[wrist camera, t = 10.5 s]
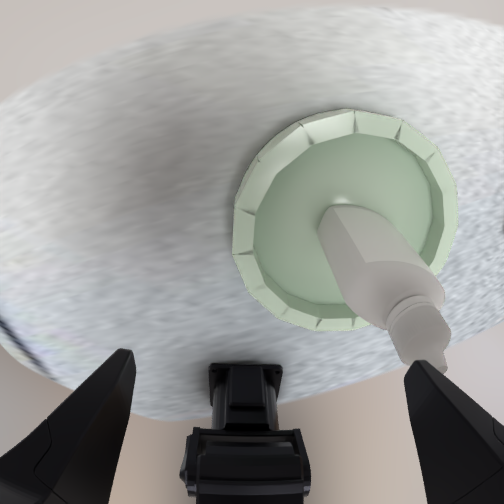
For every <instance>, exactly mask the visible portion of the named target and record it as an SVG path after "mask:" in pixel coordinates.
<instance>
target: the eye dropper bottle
mask: <svg viewBox="0 0 504 504" xmlns="http://www.w3.org/2000/svg"><path fill="white" fill-rule="evenodd" d="M317 236H318V239H319V241H320V244H321V246H322V248H323V251H324V253H325V256H326V258H327V260H328V263H329V265H330V268H331V270H332V272H333V275H334V277H335V280H336V282H337V285H338V287H339V289H340V291H341V294H342V296H343V298H344V301H345V302H346V304H347V306H348V307H349V308H350V309H351V310H352V311H353V312H355V313H356V314H357V315H358V316H359V317H361V318H362V319H364V320H365V321H367V322H368V323H370V324H372V325H374V326H376V327H379V328H381V329H384V330H387V331H388V333H389V335H390V337H391V339H392V341H393V344H394V346H395V348H396V350H397V352H398V355H399V357H400V359H401V361H402V362H403V363H404V364H406V365H409V366H411V365H412V363H413V362H414V361H415V360H426V361H428V362H429V363H430V364H431V365H432V366H434V367H435V368H436V369H437V370H438V371H440V372H441V373H442V374H444V373H445V372H446V371H447V364H446V361H445V357H444V353H443V351H444V350H445V349H446V347H447V346H448V344H449V341H450V338H451V330H450V328H449V326H448V325H447V323H446V322H445V320H444V319H443V317H442V315H441V314H440V312H439V311H440V309H441V308H442V306H443V304H444V301H445V290H444V288H443V287H442V285H441V283H440V282H439V280H438V279H437V278H436V276H435V275H434V273H433V272H432V271H431V270H430V268H429V267H428V266H427V264H426V263H425V262H424V261H423V259H422V258H421V257H420V256H419V255H418V253H417V252H416V251H415V250H414V248H413V247H412V246H411V245H410V244H409V243H408V241H407V240H406V239H405V238H404V237H403V235H402V234H401V233H400V232H399V231H398V230H397V229H396V227H395V226H394V225H393V224H392V223H391V222H390V221H388V220H387V219H386V218H385V217H383V216H382V215H380V214H378V213H377V212H375V211H373V210H370V209H367V208H364V207H360V206H354V205H335V206H332V207H329V208H328V209H327V210H326V212H325V214H324V216H323V218H322V220H321V223H320V225H319V227H318V230H317Z"/></svg>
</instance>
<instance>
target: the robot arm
mask: <svg viewBox="0 0 504 504" xmlns="http://www.w3.org/2000/svg"><path fill="white" fill-rule="evenodd" d="M282 374H283V370H282V367H281V366H278V365H226V364H212V365H210V366H209V386H210V404H211V406H212V407H213V413H212V429H202V428H200V427H194V428H193V434H192V435H190V436H187V441H186V450H185V455H184V459H183V463H182V466H181V469H180V479H181V480H182V481H183V482H184V483H185V484H186V488H187V491H188V496H189V497H196V504H303V501H304V500H303V499H304V497H307V496H308V494H309V491H310V486H311V470H310V464H309V460H308V456H307V453H306V449H305V446H304V442H303V439H302V435H301V432H300V429H293V430H279V424H278V415H277V403H276V402H277V397H278V393H279V388H280V383H281V379H282ZM135 377H136V365H135V360H134V355H133V352H132V350H129V349H123V348H120V349H118V350H116V351H115V352H114V353H113V354H112V355H111V356H110V357H109V358H108V359H107V360H106V361H105V362H104V363H103V364H102V365H101V366H100V367H99V368H98V369H97V370H95V371H94V372H93V373H92V374H91V375H90V376H89V377H88V378H87V379H86V380H85V381H84V382H83V383H82V384H81V385H80V386H79V387H78V388H77V389H76V390H75V391H74V392H73V393H72V394H71V395H70V396H69V397H68V398H66V399H65V400H64V402H62V403H61V404H60V405H59V406H58V407H57V408H56V409H55V410H54V411H53V412H52V413H51V414H50V415H49V416H48V417H47V419H45V420H44V421H43V422H42V423H41V424H40V425H39V426H38V427H37V428H36V429H34V431H32V432H31V433H30V434H29V435H28V436H27V437H26V438H24V439H23V440H22V441H21V442H19V443H18V444H17V445H16V446H14V447H13V448H12V449H11V450H9V451H8V452H7V453H5V454H4V455H3V456H1V457H0V504H108V503H109V498H110V493H111V488H112V485H113V480H114V476H115V472H116V467H117V463H118V459H119V455H120V451H121V447H122V444H123V440H124V436H125V432H126V428H127V425H128V420H129V416H130V410H131V403H132V396H133V390H134V383H135ZM404 385H405V392H406V398H407V405H408V411H409V417H410V422H411V427H412V431H413V435H414V439H415V443H416V448H417V452H418V457H419V462H420V466H421V471H422V476H423V481H424V486H425V492H426V497H427V503H428V504H504V426H503V425H502V424H501V423H499V422H498V421H497V420H496V419H495V418H493V417H492V416H491V415H490V414H489V413H488V412H486V411H485V410H484V409H483V408H482V407H481V406H480V405H479V404H477V403H476V402H475V401H474V400H473V399H472V398H470V397H469V396H468V395H467V394H466V393H464V392H463V391H462V390H461V389H459V387H457V386H456V385H455V384H454V383H452V382H451V381H450V380H449V379H448V378H447V377H446V376H444V375H443V374H442V373H441V372H440V371H438V370H437V369H436V368H435V367H434V366H432V365H431V364H430V363H429V362H428V361H426V360H415V361H414V362H413V363H412V365H411V366H410V368H409V370H408V371H407V373H406V374H405V377H404Z"/></svg>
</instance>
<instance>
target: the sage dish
mask: <svg viewBox="0 0 504 504" xmlns="http://www.w3.org/2000/svg"><path fill="white" fill-rule="evenodd" d="M335 205H354V206H360V207H364V208H367V209H370V210H373V211H375V212H377V213H378V214H380V215H382V216H383V217H385V218H386V219H387V220H388V221H390V222H391V223H392V224H393V225H394V226H395V227H396V229H397V230H398V231H399V232H400V233H401V234H402V235H403V237H404V238H405V239H406V240H407V241H408V243H409V244H410V245H411V246H412V247H413V248H414V250H415V251H416V252H417V253H418V255H419V256H420V257H421V258H422V259H423V261H424V262H425V263H426V264H427V266H428V267H429V268H430V270H431V271H432V272H433V273H434V275H435V276H437V274H438V273H439V272H440V270H441V269H442V267H443V266H444V265H445V263H446V261H447V258H448V255H449V252H450V249H451V246H452V243H453V240H454V237H455V234H456V231H457V227H458V203H457V186H456V183H455V181H454V178H453V176H452V174H451V172H450V170H449V168H448V166H447V164H446V162H445V160H444V158H443V156H442V154H441V152H440V150H439V148H438V147H437V146H436V145H435V144H433V143H432V142H431V141H430V140H428V139H427V138H426V137H425V136H423V135H422V134H421V133H419V132H418V131H417V130H416V129H414V128H413V127H412V126H410V125H409V124H408V123H406V122H405V121H404V120H401V119H398V118H394V117H391V116H386V115H381V114H376V113H371V112H367V111H360V110H353V109H347V108H346V109H345V108H344V109H340V110H332V111H327V112H322V113H318V114H315V115H312V116H309V117H306V118H303V119H301V120H299V121H297V122H295V123H294V124H292V125H290V126H288V127H287V128H285V129H284V130H282V131H281V132H280V133H278V134H277V135H276V136H274V137H273V138H272V139H271V140H270V141H269V142H268V143H267V144H266V145H265V146H264V147H263V148H262V149H261V151H260V152H259V153H258V154H257V155H256V157H255V158H254V159H253V161H252V163H251V164H250V166H249V168H248V169H247V171H246V173H245V175H244V177H243V180H242V182H241V184H240V187H239V190H238V192H237V194H236V196H235V200H234V219H233V244H232V256H233V258H234V261H235V263H236V265H237V268H238V270H239V272H240V274H241V277H242V279H243V281H244V284H245V286H246V288H247V291H248V293H249V294H250V295H251V296H252V297H253V298H255V299H256V300H257V301H258V302H259V303H260V304H261V305H263V306H264V307H265V308H266V309H267V310H268V311H269V312H271V313H272V314H273V315H274V316H275V317H276V318H277V319H279V320H282V321H285V322H288V323H291V324H294V325H297V326H300V327H303V328H306V329H309V330H312V331H314V330H315V331H352V330H356V329H359V328H362V327H365V326H368V325H371V324H370V323H368V322H367V321H365V320H364V319H362V318H361V317H359V316H358V315H357V314H356V313H355V312H353V311H352V310H351V309H350V308H349V307H348V306H347V304H346V302H345V301H344V298H343V296H342V294H341V291H340V289H339V287H338V285H337V282H336V280H335V277H334V275H333V272H332V270H331V268H330V265H329V263H328V260H327V258H326V256H325V253H324V251H323V248H322V246H321V244H320V241H319V239H318V236H317V230H318V227H319V225H320V223H321V220H322V218H323V216H324V214H325V212H326V210H327V209H328V208H329V207H332V206H335Z"/></svg>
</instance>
